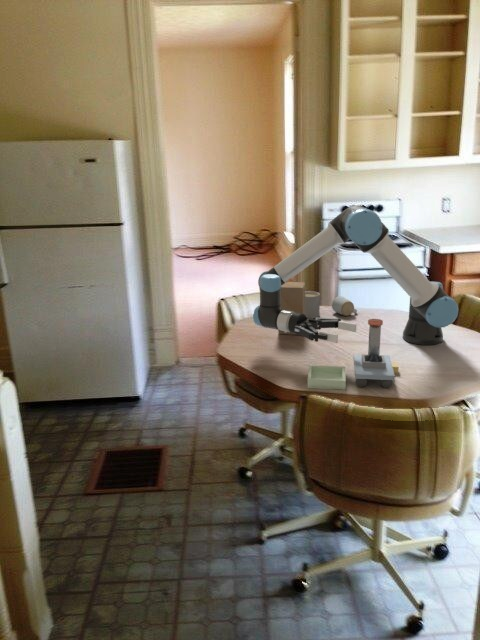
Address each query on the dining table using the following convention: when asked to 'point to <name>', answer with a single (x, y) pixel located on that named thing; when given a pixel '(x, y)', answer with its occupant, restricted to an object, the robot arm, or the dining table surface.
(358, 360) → the cart
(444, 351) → the dining table surface
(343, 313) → the ceramic mug
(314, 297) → the grey cylindrical piece
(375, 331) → the pin
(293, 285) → the wooden block
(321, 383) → the tray
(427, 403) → the dining table surface
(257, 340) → the dining table surface
